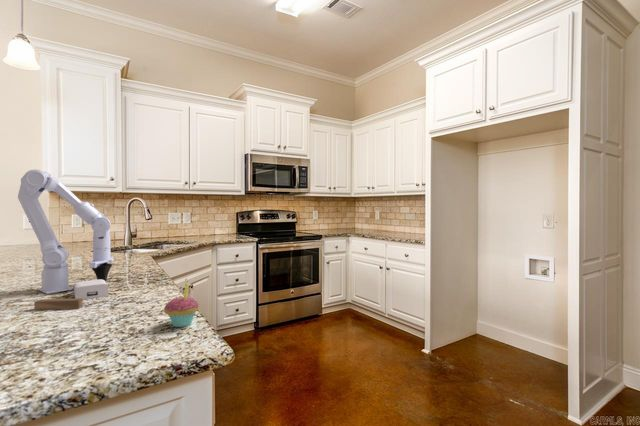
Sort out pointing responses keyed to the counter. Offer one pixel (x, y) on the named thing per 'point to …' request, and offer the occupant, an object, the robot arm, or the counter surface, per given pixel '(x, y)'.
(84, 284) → the charger
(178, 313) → the cupcake
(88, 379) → the counter surface
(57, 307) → the bar
